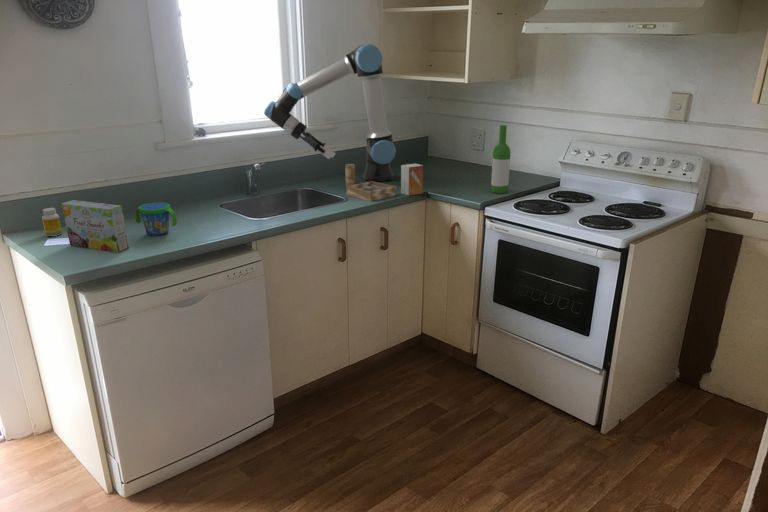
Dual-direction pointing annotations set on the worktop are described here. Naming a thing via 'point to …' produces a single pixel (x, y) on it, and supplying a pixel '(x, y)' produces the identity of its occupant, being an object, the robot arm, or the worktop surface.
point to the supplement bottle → (51, 222)
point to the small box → (411, 179)
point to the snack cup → (155, 217)
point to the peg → (350, 174)
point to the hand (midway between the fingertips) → (332, 156)
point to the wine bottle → (501, 164)
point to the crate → (371, 191)
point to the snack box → (95, 225)
